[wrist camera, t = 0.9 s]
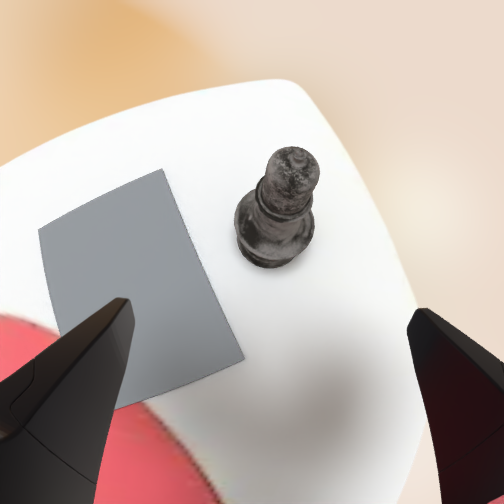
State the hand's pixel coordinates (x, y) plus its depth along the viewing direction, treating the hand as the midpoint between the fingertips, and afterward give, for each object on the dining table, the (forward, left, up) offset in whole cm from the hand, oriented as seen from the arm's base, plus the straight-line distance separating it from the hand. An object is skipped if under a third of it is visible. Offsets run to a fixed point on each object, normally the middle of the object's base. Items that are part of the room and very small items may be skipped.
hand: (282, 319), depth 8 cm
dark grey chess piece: (+6, -5, -14) cm, 16 cm away
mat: (+7, +8, -14) cm, 18 cm away
